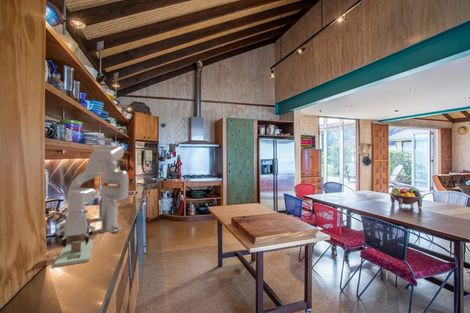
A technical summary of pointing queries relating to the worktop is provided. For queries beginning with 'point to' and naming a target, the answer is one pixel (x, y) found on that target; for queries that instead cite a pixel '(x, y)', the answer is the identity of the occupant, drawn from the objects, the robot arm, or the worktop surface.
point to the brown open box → (75, 237)
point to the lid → (74, 253)
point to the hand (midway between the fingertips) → (75, 245)
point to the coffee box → (100, 209)
